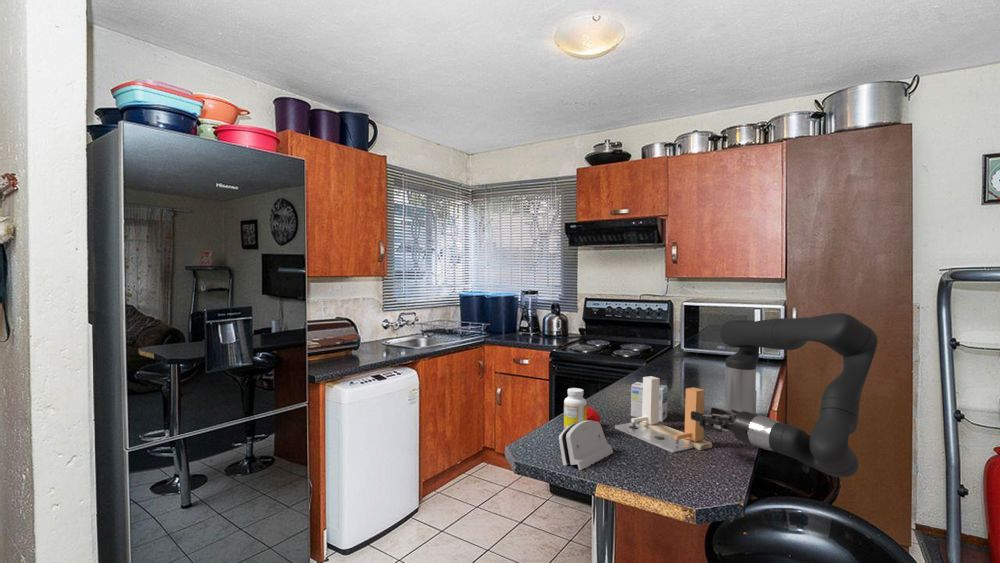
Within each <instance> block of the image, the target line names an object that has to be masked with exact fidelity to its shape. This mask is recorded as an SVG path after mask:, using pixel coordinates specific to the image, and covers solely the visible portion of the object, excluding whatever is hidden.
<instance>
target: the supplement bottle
mask: <svg viewBox="0 0 1000 563" xmlns="http://www.w3.org/2000/svg"><path fill="white" fill-rule="evenodd" d="M584 393H585V392H584V389H582V388H577V387H570V388H568V389H567V397H566V398H564V400H563V430H565V429H566V428H567V427H568V426H570V425H572V424H574V423H576V422H580V421H586V409H587V407H588V406H587V400H586V399H585V398H584V397H583V396H584Z"/></svg>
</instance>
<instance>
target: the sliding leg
mask: <svg viewBox="0 0 1000 563" xmlns="http://www.w3.org/2000/svg"><path fill="white" fill-rule="evenodd" d="M705 390H706V389H701V388H699V387H698V388H697V387H693V386H692V387H688V388H685V406H684V410H685V411H684V433H681V434H677V435H674V439H675V444H679V439H683V438H687V439H689V440H692V441H695V442H696V441H700V440H704V428H705V427H701V426H700V422H698V421H695V420H692V419H691V411H695V412H698V413H701V414H705V395H706V394H705V392H706V391H705Z"/></svg>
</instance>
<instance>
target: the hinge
mask: <svg viewBox="0 0 1000 563" xmlns="http://www.w3.org/2000/svg"><path fill="white" fill-rule="evenodd" d="M600 423H601V422H600ZM600 423H599V422H597V421H592V420H590V421H580V422H576V423H574V424H572V425H570V426H568V427H567V428H566V429H565V430H564V429H563V431H562V432H561V433H560V434H559V436H558V442H559V448H560V455H561V461H562V465H563V466H568V465H570V466H574V465H577V468H578V471H580V470H581V471H583V470H584V468H585V469H586V468H588V467H590V466H592V465H593V464H595V462H596V463H597V462H599V461H602V460H603V459H604V457H605V458H606V457H608V456H610V455H611V454H613V453H614V451H613V450H614V449H613V447H612V445H611V444H609V443H608V441H607V439H606V436H605V434H604V430H603V427H602V424H600ZM591 464H592V465H591ZM582 469H583V470H582Z"/></svg>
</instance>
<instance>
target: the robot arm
mask: <svg viewBox="0 0 1000 563" xmlns="http://www.w3.org/2000/svg"><path fill="white" fill-rule="evenodd" d="M719 336H720V339H721V341H722V343H723V344H725V345H726V346H727V347H730V348H739V349H738V351H736V353H734V354H732V355H730V356H728V357H726V358H725V368H724V369H725V371H724V373H725V374H724V376H725V377H724V409H720V408H717V407H711V408H710V414H705V413H704V414H701V413H698V412H695V411H691V419H692V420H695V421H698V422H700V426H701V427H704V428H706V429H708V430H711V431H714V432H718V433H722V432H723V431H725V432H732V434H733V436H734V437H735V439H737V440H738V441H740V442H742V443H746V444H749V445H750V446H751V445H752V446H755V447H758V448H760V449H762V450H766V451H767V450H768V451H771V452H775V453H778V454H780V455H783V456H787V457H790V458H793V459H796V461H797V460H798V461H800V462H801V463H803V464H805V465H807V466H808V467H811V468H813V469H815V470H817V471H819V472H821V473H823V474H825V475H828V476H830V477H835V478H849V477H851V476H854V475H855V474H856V473H858V470H859V466H860V465H859V459H858V458H857V455H856V454H855V452H854V451H853V450H852V448H851V447H850V446H849V437H850V435H852V434H854V433H855V432H856V431H857V428H858V424H859V415H860V406H861V398H862V392H863V388H864V386H865V383H866V380H867V377H868V374H869V373H870V369H871V366H872V364H873V360H874V357H875V354H876V351H877V347H878V336H877V333H876V332H875V331H874V330H873V329H872V328H871V327H870V326H868V325H866V324H864V323H863V322H861V321H860V320H859V319H857V318H856V317H854V316H852V315H850V314H848V313H843V312H834V313H827V314H822V315H816V316H808V317H797V318H795V317H794V318H792V317H791V318H790V317H786V318H785V317H784V318H780V317H779V318H770V319H762V320H761V319H760V320H756V321H755V320H754V321H753V320H748V319H747V320H745V319H743V320H742V319H731V320H727V321H725V322H724V323H723V324H722V325H721V327H720V329H719ZM808 342H815V343H820V344H823V345H824V346H827V347H828V348H829V349H831V350H832V351H834V352H836V353H837V354H838V355H840V356H842V359H843V360H842V362H843V364H842V365H843V366H842V367H843V368H842V369H841V373H840V374H839V375H838V376H837V377H836V378H834V379H833V380H832V381H831V382H829V383H828V385H827V386H826V387H825V389H824V390H823V393H822V395H821V399H820V400H821V401H820V407H819V408H820V409H819V416H818V419H817V421H816V423H815V424H814V426H813V429H812V431H811V433H810V434H808V432H806V431H805V430H803V429H802V428H800V427H798V426H795V425H791V424H787V423H784V422H781V421H777V420H776V419H774V418H770V417H767V416H763V415H759V414H757V390H756V386H757V384H756V383H757V381H756V380H757V365H758V362H759V359H760V358H759V357H760V356H759V355H760V348H764V349H770V350H780V351H781V350H782V351H795V350H798V349H801V348H802V347H803V346H804V345H806V344H807V343H808ZM804 347H805V346H804ZM716 418H717V419H716Z"/></svg>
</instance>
